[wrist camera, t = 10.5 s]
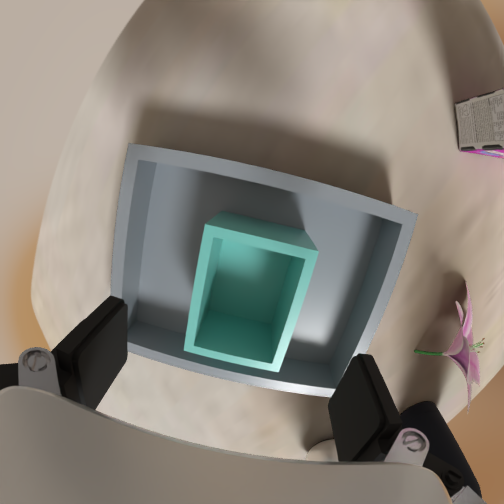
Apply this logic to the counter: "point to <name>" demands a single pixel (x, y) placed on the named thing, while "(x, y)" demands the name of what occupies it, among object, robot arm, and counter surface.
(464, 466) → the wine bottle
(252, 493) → the robot arm
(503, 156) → the candy bar box
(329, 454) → the silver ribbed bottle
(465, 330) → the lily
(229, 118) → the counter surface
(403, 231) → the gray crate
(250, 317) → the teal crate
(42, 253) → the counter surface
